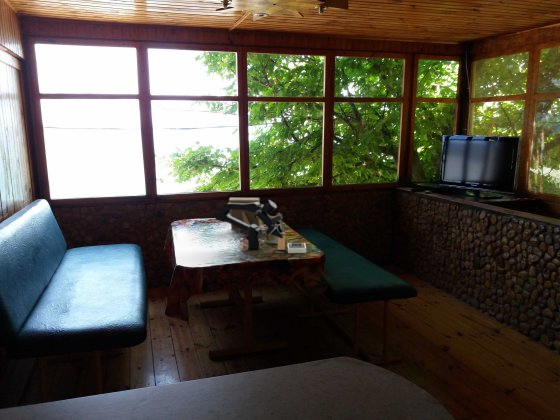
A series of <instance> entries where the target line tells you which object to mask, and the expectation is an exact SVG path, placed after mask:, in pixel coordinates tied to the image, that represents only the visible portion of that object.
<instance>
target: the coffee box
mask: <svg viewBox="0 0 560 420" xmlns="http://www.w3.org/2000/svg"><path fill="white" fill-rule="evenodd" d="M280 221H281V223H280V224H281V229H282V230H283V219H282V220H280ZM280 224H279V225H280ZM267 229H268V227H267V226H266V225H265V231H266V230H267ZM271 233H272V232H271ZM271 233H270V234H269V235H268V234H267V233H266V232H265V234H266V237H265V238H266V239H265V240H266V241H265V242H266V243H268V244H275V245H276V244H277V245H278V237H277V236H275V235H272V234H271Z"/></svg>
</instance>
